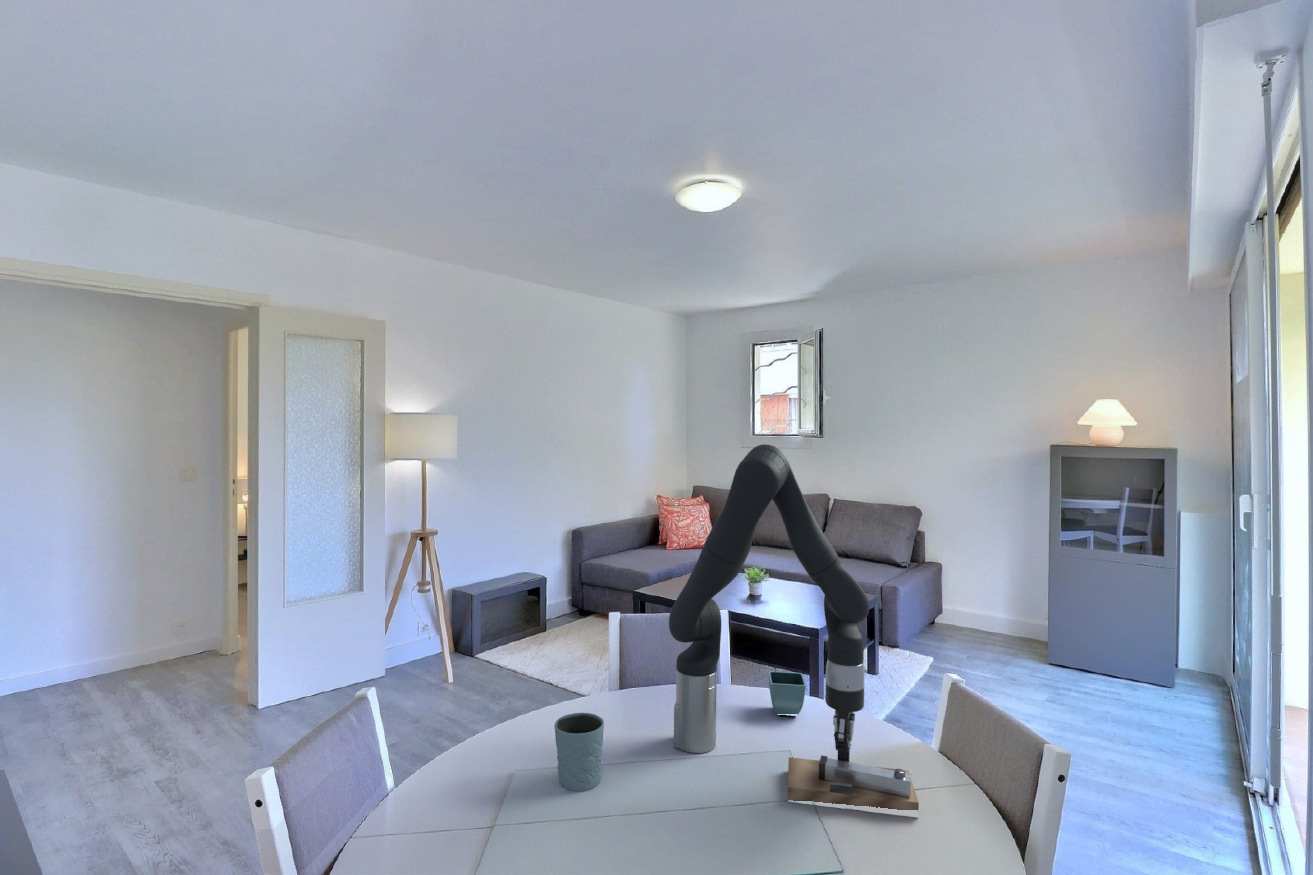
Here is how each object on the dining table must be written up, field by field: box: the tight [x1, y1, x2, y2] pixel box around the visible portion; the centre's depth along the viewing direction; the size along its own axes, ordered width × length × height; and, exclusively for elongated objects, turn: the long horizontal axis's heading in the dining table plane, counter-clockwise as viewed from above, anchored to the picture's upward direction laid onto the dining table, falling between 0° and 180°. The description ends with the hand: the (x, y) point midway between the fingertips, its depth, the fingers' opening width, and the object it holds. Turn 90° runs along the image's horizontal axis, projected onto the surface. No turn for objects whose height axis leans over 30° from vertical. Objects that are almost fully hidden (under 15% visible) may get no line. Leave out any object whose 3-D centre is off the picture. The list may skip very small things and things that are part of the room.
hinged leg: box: [818, 755, 912, 797], centre depth 132 cm, size 17×3×4 cm, turn 68°
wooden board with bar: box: [787, 757, 920, 811], centre depth 134 cm, size 24×12×4 cm, turn 78°
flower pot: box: [768, 670, 807, 715], centre depth 171 cm, size 9×9×9 cm
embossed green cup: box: [553, 712, 605, 793], centre depth 138 cm, size 10×10×12 cm
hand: (843, 766), depth 136 cm, fingers closed
